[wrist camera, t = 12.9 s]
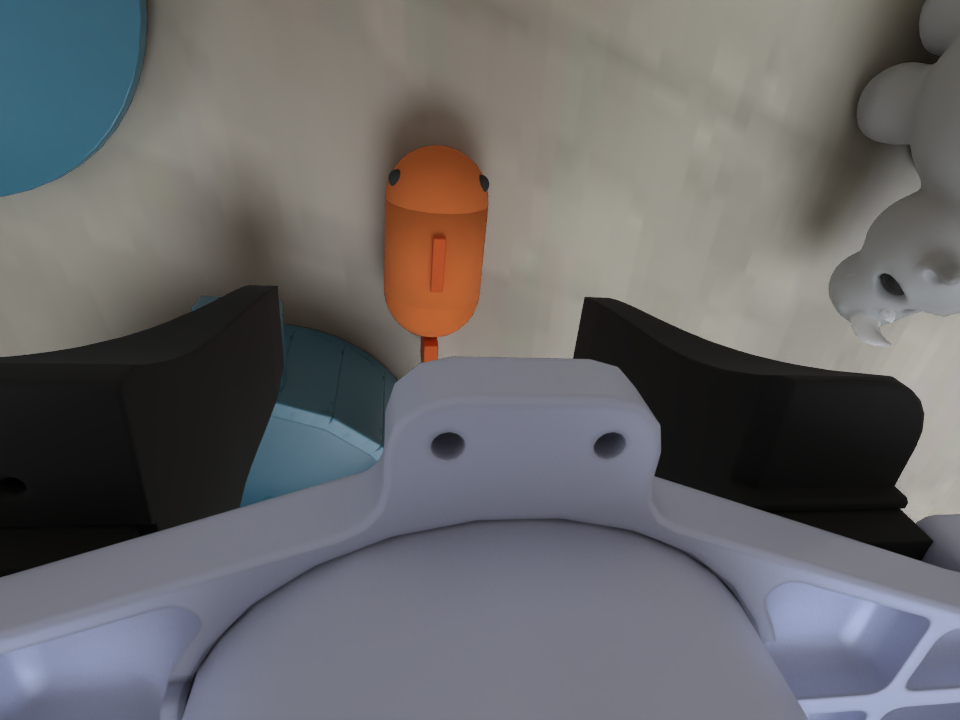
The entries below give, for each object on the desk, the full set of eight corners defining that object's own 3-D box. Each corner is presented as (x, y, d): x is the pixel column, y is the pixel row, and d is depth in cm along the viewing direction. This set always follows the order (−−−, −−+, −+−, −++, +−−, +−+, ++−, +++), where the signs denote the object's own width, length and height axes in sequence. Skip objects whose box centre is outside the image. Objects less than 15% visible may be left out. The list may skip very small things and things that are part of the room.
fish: (467, 345, 24) (478, 393, 21) (383, 343, 24) (381, 392, 21) (485, 141, 20) (502, 161, 17) (386, 133, 20) (385, 153, 17)
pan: (164, 594, 29) (119, 706, 24) (81, 247, 20) (-13, 313, 16) (415, 584, 31) (418, 686, 26) (433, 262, 22) (443, 325, 18)
